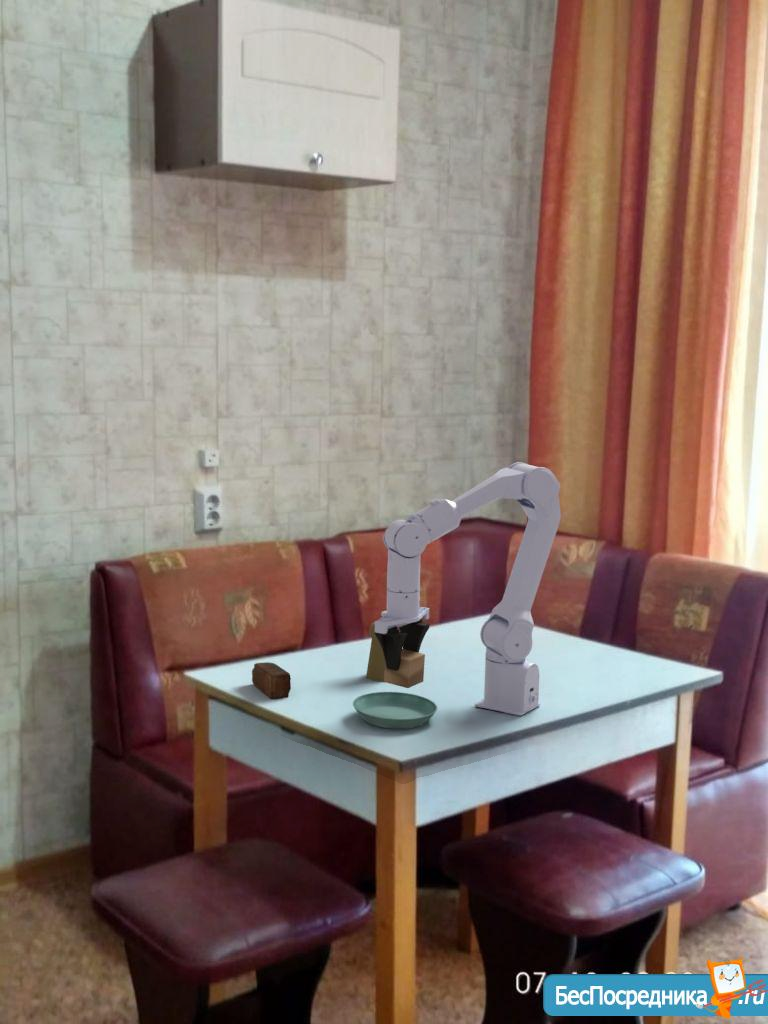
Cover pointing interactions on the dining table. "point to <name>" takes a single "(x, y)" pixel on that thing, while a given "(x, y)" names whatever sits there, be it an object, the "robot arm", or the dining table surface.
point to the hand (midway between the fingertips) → (401, 665)
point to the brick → (271, 680)
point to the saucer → (394, 709)
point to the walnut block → (407, 670)
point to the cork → (375, 658)
